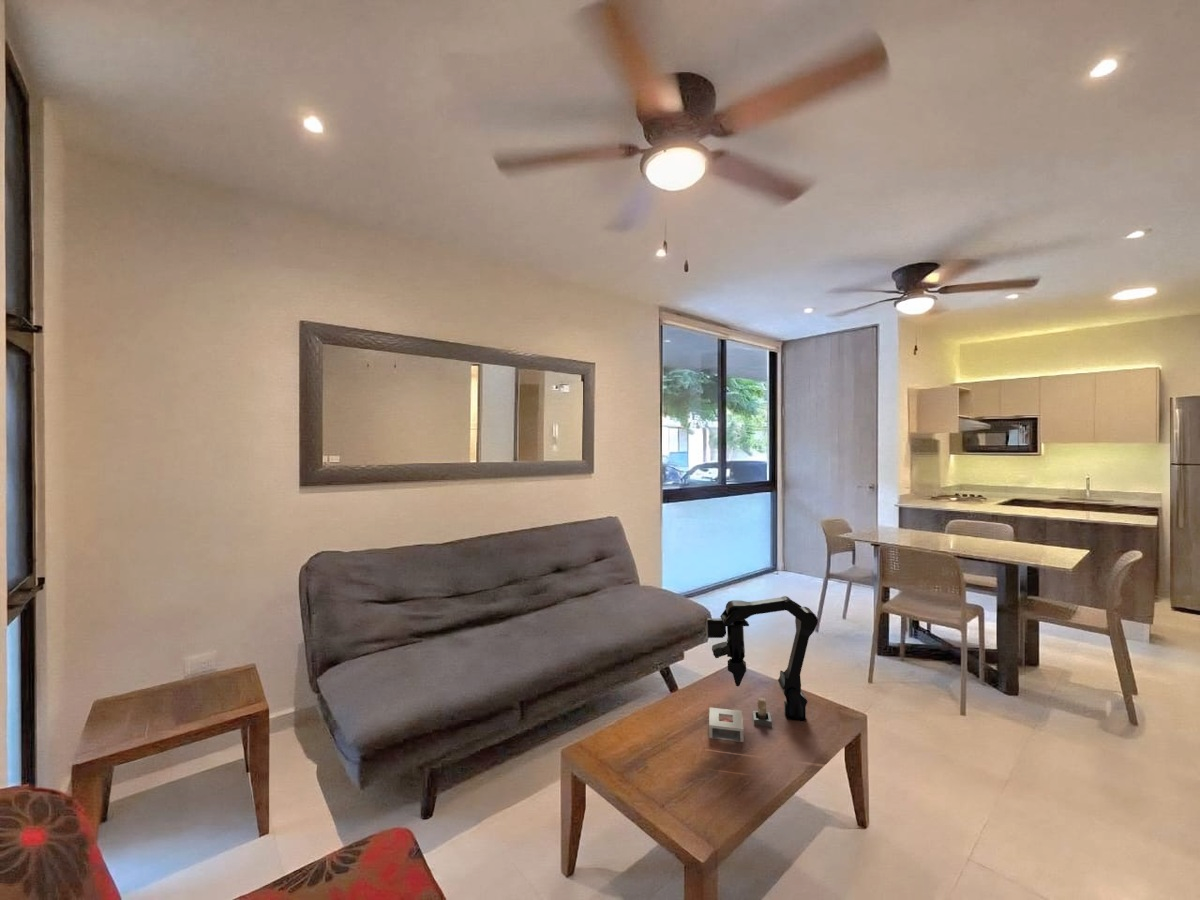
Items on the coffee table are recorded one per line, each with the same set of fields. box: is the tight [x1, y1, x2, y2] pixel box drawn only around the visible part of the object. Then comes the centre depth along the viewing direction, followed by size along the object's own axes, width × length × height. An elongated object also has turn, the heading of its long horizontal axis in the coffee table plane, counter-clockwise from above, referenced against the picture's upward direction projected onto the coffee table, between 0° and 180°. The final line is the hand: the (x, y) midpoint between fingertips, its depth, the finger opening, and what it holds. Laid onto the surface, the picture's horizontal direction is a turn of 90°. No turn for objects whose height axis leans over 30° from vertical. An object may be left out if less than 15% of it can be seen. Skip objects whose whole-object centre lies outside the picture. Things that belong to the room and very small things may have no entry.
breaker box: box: [708, 707, 744, 743], centre depth 169 cm, size 11×11×5 cm
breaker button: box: [720, 718, 731, 722], centre depth 169 cm, size 3×3×2 cm
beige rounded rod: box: [757, 697, 767, 720], centre depth 174 cm, size 3×3×8 cm
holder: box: [752, 710, 773, 728], centre depth 174 cm, size 6×6×2 cm
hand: (737, 679), depth 179 cm, fingers open, 9 cm apart
